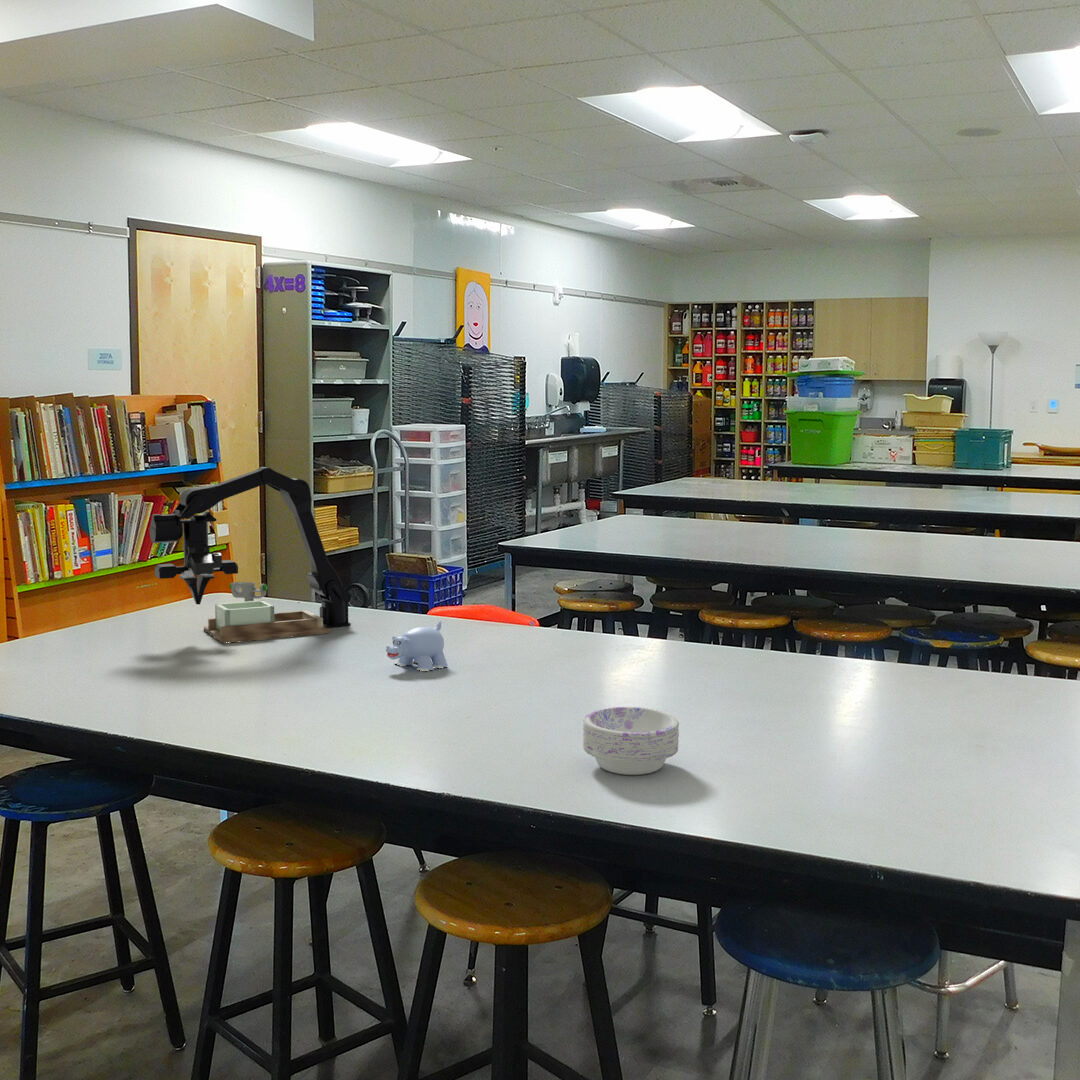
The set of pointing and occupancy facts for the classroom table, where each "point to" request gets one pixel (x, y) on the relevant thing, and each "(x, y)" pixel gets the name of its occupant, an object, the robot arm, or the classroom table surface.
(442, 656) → the hippopotamus toy
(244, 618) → the sage green bevelled box
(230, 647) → the classroom table surface
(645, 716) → the paper bowls
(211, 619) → the wooden serving tray
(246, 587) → the mechanical component
